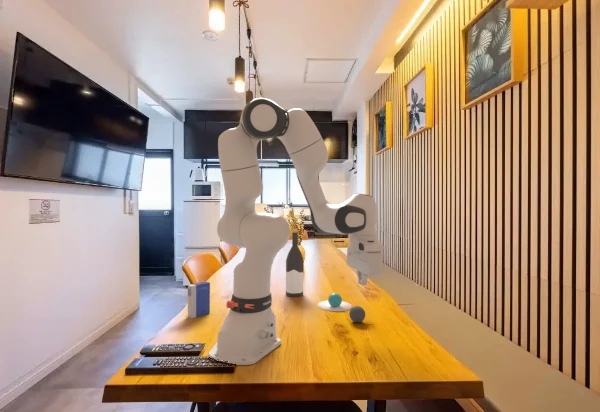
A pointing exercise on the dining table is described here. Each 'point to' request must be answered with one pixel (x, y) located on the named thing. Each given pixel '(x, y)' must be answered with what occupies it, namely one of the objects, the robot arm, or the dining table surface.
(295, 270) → the wine bottle
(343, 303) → the cream mark
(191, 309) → the walkman
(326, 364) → the dining table surface
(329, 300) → the teal ball
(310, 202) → the robot arm
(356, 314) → the gray ball
